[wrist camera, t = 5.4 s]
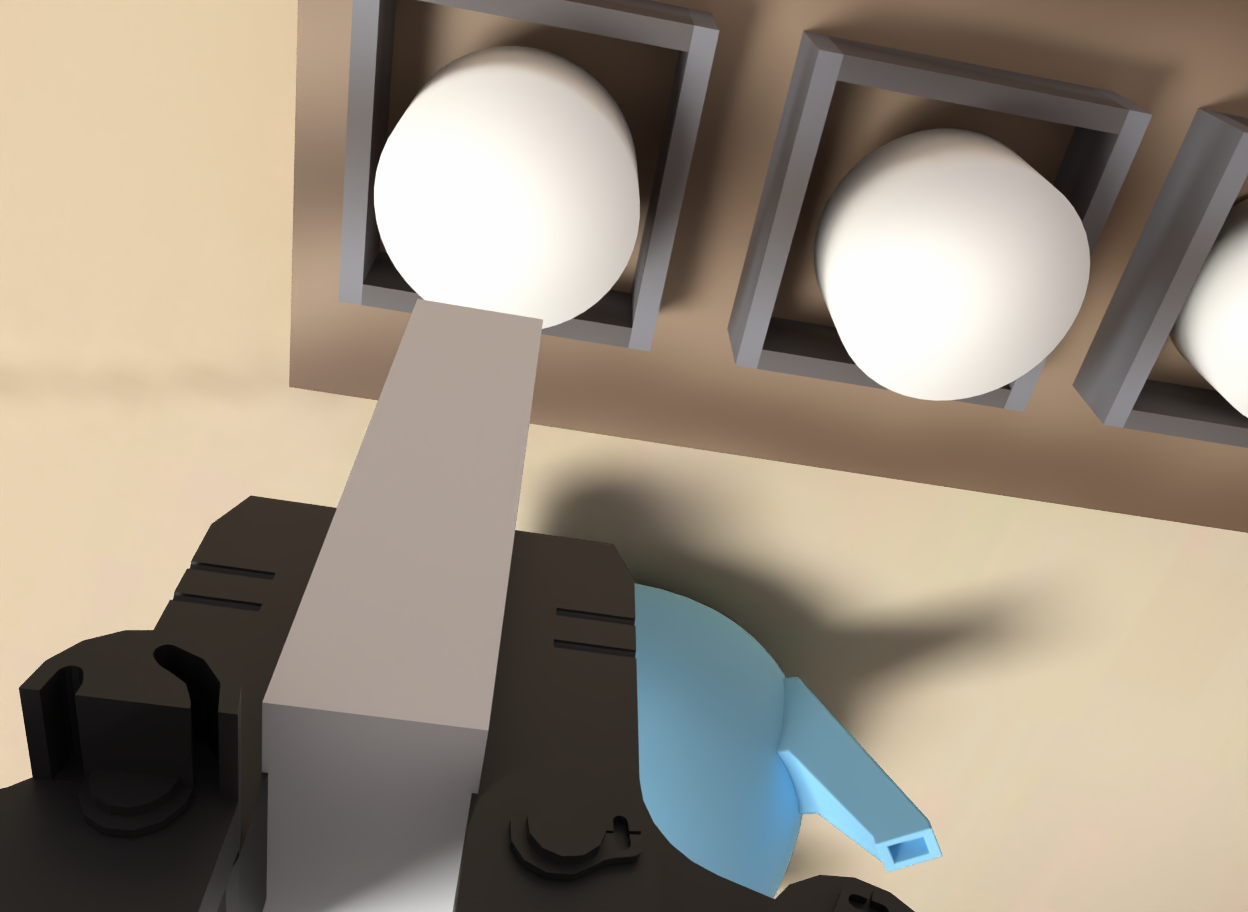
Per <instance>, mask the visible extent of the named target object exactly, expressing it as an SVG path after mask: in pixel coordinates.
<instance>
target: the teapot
mask: <svg viewBox="0 0 1248 912" xmlns="http://www.w3.org/2000/svg"><path fill="white" fill-rule="evenodd" d="M635 626H636V655H635V658H636V659H637V698H638V737H639V776H640V784H641V790H642V796H643V801H644V803H645V805H646V807H647V809H648V811H649V814H650V816H651V818H652V820H653V822H654V823H655V825H656V826H657V827H658V828H659V830H660V831H661V832H662V833H663V835H664V836H665V837H666V839H667V840H668V841H669V842H670V843H671V844H672V845H673V846H674V847H675V848H677V849H678V850H679V851H680V852H681V853H683V854H684V855H685V856H686V857H688V858H689V859H690V860H691V861H693V862H694V863H696V864H698V865H700V866H702V867H704V868H705V869H707V870H709V871H711V872H713V873H715V874H717V875H719V876H721V877H723V878H726V879H728V880H730V881H733V882H735V883H738V884H740V885H742V886H745V887H747V888H749V889H752V890H754V891H756V892H759V893H761V894H764V895H766V896H768V897H771V898H774V896H775V894H776V892H777V890H778V888H779V886H780V884H781V882H782V879H783V877H784V875H785V872H786V870H787V868H788V866H789V863H790V860H791V857H792V854H793V851H794V847H795V844H796V840H797V837H798V833H799V829H800V826H801V819H802V814H810V813H818V814H819V815H820V816H822V817H823V818H824V819H826V820H827V821H828V822H830V823H831V824H832V825H834V826H835V827H836V828H838V829H839V830H840V831H842V832H843V833H844V834H846V835H847V836H848V837H850V838H851V839H852V840H854V841H855V842H856V843H857V844H859V845H860V846H861V847H863V848H864V849H865V850H867V851H868V852H869V853H871V854H872V855H873V856H875V857H876V858H877V859H879V860H880V861H881V862H883V864H884V866H885V869H886V871H887V872H890V871H893V870H897V869H900V868H904V867H907V866H910V865H914V864H917V863H921V862H924V861H928V860H931V859H934V858H938V857H941V856H942V853H941V851H940V848H939V845H938V843H937V840H936V837H935V835H934V832H933V830H932V827H931V824H930V822H929V820H928V819H927V818H926V817H925V815H924V814H923V813H922V812H921V811H920V810H919V809H918V808H917V807H916V806H915V805H914V803H913V802H912V801H911V800H910V799H909V798H908V797H907V796H906V795H905V794H904V792H903V791H902V790H901V789H900V788H899V787H898V786H897V785H896V784H895V783H894V782H893V780H892V779H891V778H890V777H889V776H888V775H887V774H886V773H885V772H884V771H883V769H882V768H881V767H880V766H879V765H878V764H877V763H876V762H875V761H874V760H873V759H872V757H871V756H870V755H869V754H868V753H867V752H866V751H865V750H864V749H863V748H862V746H861V745H860V744H859V743H858V742H857V741H856V740H855V739H854V738H853V737H852V735H851V734H850V733H849V732H848V731H847V730H846V729H845V728H844V727H843V726H842V725H841V723H840V722H839V721H838V720H837V719H836V718H835V717H834V716H833V715H832V714H831V712H830V711H829V710H828V709H827V708H826V707H825V706H824V705H823V704H822V703H821V702H820V700H819V699H818V698H817V697H816V696H815V695H814V694H813V693H812V692H811V691H810V689H809V688H808V687H807V686H806V685H805V684H804V683H803V682H802V681H801V680H800V679H799V677H798V676H796V677H787V678H786V677H785V675H784V674H783V672H782V671H781V669H780V668H779V666H778V665H777V663H776V662H775V661H774V659H773V658H772V657H771V656H770V654H769V653H768V652H767V651H766V650H765V649H764V648H763V647H762V646H761V645H760V644H759V642H758V641H757V640H756V639H755V638H754V637H753V636H751V635H750V634H749V633H748V632H746V631H745V630H744V629H743V628H742V627H740V626H739V625H738V624H737V623H735V622H734V621H732V620H730V619H729V618H727V617H725V616H724V615H722V614H721V613H719V612H717V611H716V610H714V609H712V608H710V607H707V606H705V605H703V604H701V603H699V602H697V601H694V600H692V599H690V598H687V597H684V596H681V595H678V594H675V593H672V592H669V591H666V590H663V589H660V588H655V587H650V586H645V585H641V584H636V583H635Z"/></svg>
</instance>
